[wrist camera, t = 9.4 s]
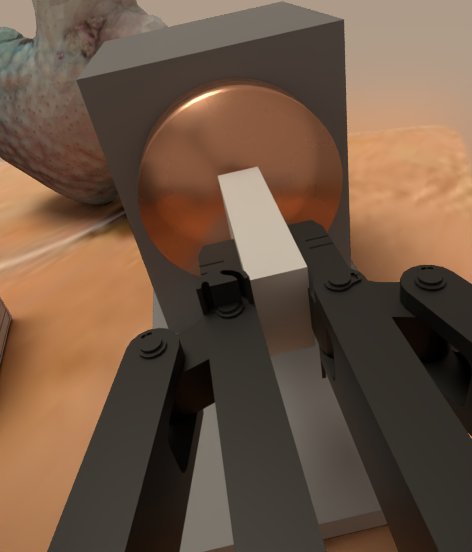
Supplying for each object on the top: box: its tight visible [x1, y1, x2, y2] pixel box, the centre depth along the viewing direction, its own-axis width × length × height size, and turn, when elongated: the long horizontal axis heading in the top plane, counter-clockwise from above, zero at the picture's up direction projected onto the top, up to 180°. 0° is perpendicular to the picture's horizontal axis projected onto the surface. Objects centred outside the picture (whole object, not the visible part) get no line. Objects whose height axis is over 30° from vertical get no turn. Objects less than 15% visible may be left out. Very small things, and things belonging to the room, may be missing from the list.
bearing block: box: [76, 2, 387, 552], centre depth 20 cm, size 22×12×14 cm, turn 8°
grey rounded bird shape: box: [0, 0, 168, 204], centre depth 36 cm, size 21×9×20 cm, turn 74°
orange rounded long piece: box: [138, 78, 343, 277], centre depth 23 cm, size 14×8×8 cm, turn 8°
